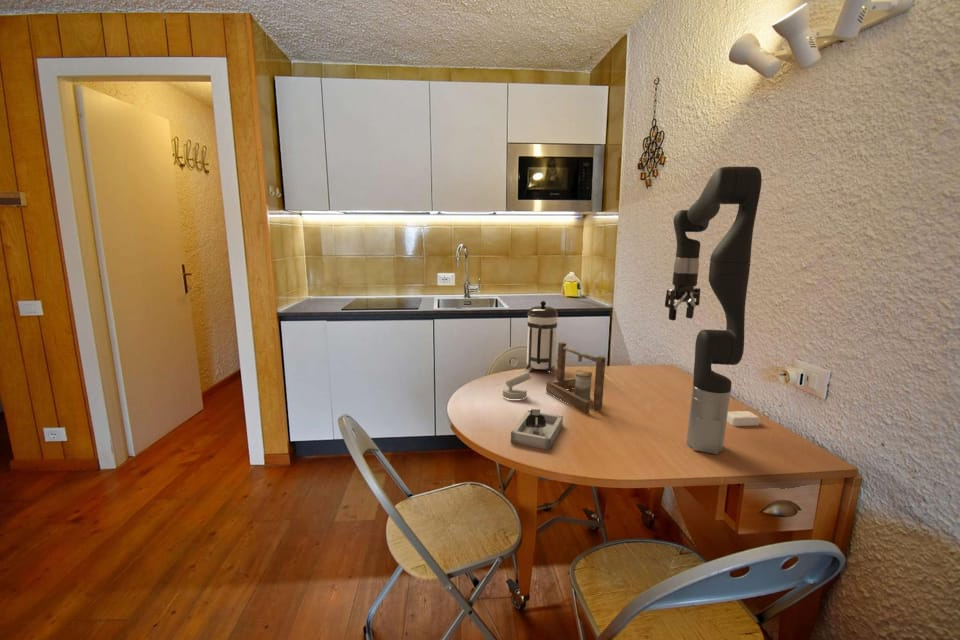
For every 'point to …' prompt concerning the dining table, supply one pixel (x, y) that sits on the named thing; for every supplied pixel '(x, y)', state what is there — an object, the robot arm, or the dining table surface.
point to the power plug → (535, 421)
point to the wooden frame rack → (562, 384)
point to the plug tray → (537, 431)
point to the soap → (742, 418)
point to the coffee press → (541, 337)
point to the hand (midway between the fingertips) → (680, 319)
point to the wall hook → (513, 390)
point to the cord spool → (583, 384)
